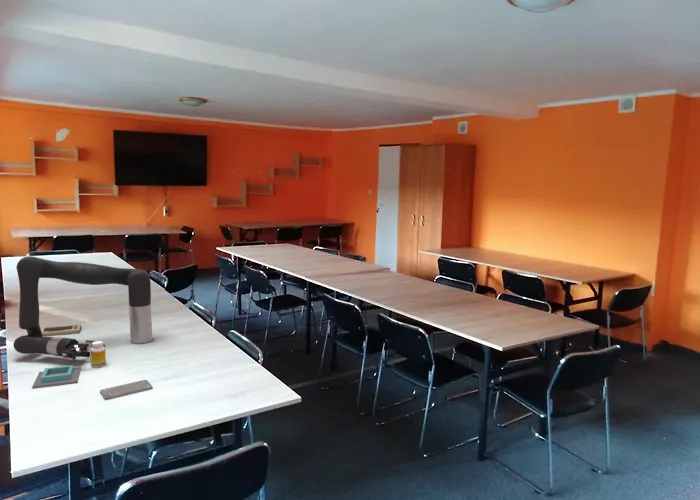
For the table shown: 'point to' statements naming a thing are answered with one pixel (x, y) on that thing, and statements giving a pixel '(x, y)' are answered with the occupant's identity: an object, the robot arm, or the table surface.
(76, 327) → the computer
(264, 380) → the table surface
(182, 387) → the table surface
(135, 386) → the phone
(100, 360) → the supplement bottle
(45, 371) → the bottle dock
